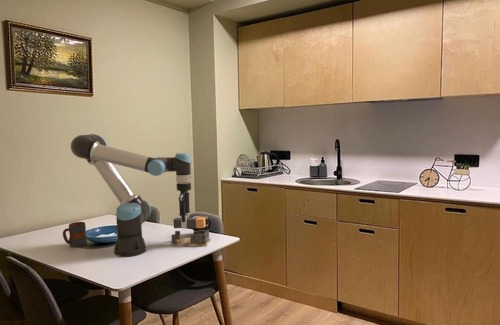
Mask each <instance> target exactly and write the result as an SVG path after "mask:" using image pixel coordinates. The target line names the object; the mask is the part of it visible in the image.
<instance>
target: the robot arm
mask: <svg viewBox="0 0 500 325" xmlns="http://www.w3.org/2000/svg"><path fill="white" fill-rule="evenodd" d="M70 150H71V152H72V154H73V155H74V156H75V157H77V158H79V159H83V160H86V161H87V163H88V164H89V165H93V166H94V167H95V169H96V170H97V171H98V173H99V175H100V176H101V177H102V179H103V181H104V182H105V183H106V184H107V186H108V187H109V189H110V191H111V192H112V193H113V195H114V197H115V198H116V199H117V200H118V202H119V205H118V207H117V208H116V209H115V210H116V211H115V212H116V213H115V216H116V218H115V219H116V233H117V237H116V238H117V239H116V241H115V245H114V248H113V250H114V251H113V252H114V253H113V254H114V255H115V256H118V257H134V256H138V255H141V254H144V253H145V252H146V251H147V244H146V242H145V240H144V237H143V228H142V226H143V224H144V223H145V222H146V221H147V220H148V219H149V217H150V215H151V212H152V209H151V206H150V203H148V201H146V200H144V199H143V198H142V197H141V195H140V194H137V193H135V192H134V191H133V190H132V188H131V187H130V185H129V184H128V182H127V181H126V179H125V178H124V176H123V175H122V173H121V171H119V169H118V168H117V166H121V167H126V168H130V169H134V170H137V171H141V172H145V173H147V174H150V175H152V176H153V177H154V176H156V177H157V176H161V175H162V174H165V173H167V172H168V173H172V172H175V183H176V191H177V192H180V194H179V196H178V204H179V205H178V207H179V217H180V218H181V228H180V229H188V228H187V218H190V215H189V214H190V213H191V210H190V192H189V191H191V190H192V183H191V182H192V178H193V176H192V175H191V174H192V173H191V170H192V169H191V155H190V154H189V153H188V152H187V153H186V152H181V153H180V152H178V153H176V154H175V156H173V157H171V156H170V157H161V156H159V157H151V156H146V155H143V154H139V153H136V152H131V151H127V150H123V149H119V148H115V147H112V146H108V145H107V142H106V140H105V139H104V137H102V136H100V135H98V134H93V133H90V134H80V135H77V136H75V137H74V138H73V139H72V141H71V142H70ZM116 165H117V166H116Z"/></svg>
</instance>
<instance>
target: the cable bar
mask: <svg viewBox="0 0 500 325" xmlns="http://www.w3.org/2000/svg"><path fill="white" fill-rule="evenodd" d="M205 226H206V225H205V217H198V218H193V217H189V218H187V228H186V229H193V228H204V227H205ZM173 229H182V228H181V217H175V218H174V219H173Z"/></svg>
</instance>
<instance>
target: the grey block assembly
mask: <svg viewBox="0 0 500 325" xmlns="http://www.w3.org/2000/svg"><path fill="white" fill-rule="evenodd" d="M174 233H175V234H171V235H170V236H171V243H170V246H171V247H208V245H209V244H210V242H211V238H210V230H209V229H208V230H206V232H205V230H199V234H198V231H193V234H190V235H189V236H190V237H189V238H187V237H186V238H185V237H184V238H181V230H175V231H174Z"/></svg>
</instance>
